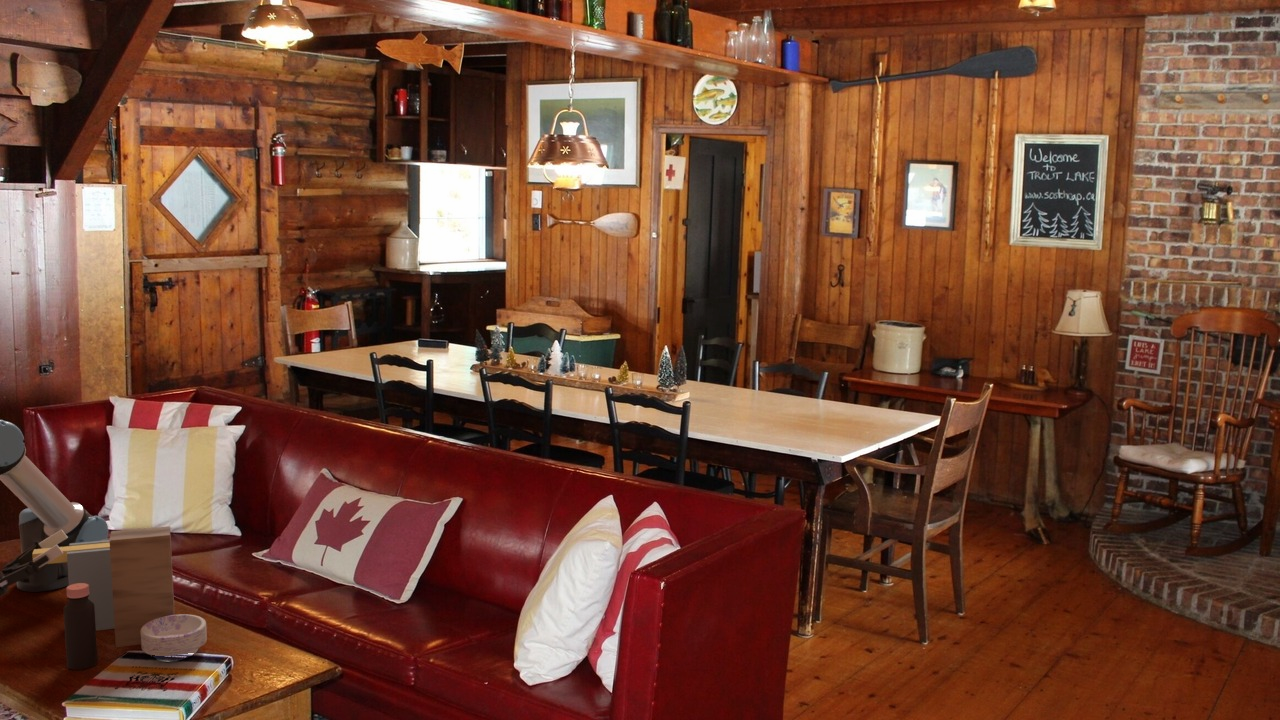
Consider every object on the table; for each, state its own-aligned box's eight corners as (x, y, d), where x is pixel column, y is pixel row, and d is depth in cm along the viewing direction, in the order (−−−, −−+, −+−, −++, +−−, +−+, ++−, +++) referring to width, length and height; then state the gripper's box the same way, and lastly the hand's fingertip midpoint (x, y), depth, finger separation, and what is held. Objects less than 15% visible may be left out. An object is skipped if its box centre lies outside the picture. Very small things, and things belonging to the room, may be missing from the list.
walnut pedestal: (117, 635, 305) (111, 531, 300) (175, 628, 310) (170, 526, 305) (115, 647, 297) (109, 540, 293) (175, 640, 302) (169, 535, 298)
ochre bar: (34, 560, 306) (34, 549, 306) (135, 551, 315) (134, 540, 314) (33, 565, 302) (32, 554, 302) (134, 555, 311) (133, 544, 311)
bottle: (102, 664, 287) (97, 586, 284) (73, 673, 282) (68, 593, 279) (91, 656, 291) (86, 579, 288) (62, 664, 286) (57, 586, 283)
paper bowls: (170, 672, 283) (168, 641, 282) (128, 659, 290) (126, 628, 289) (220, 651, 296) (219, 620, 295) (179, 638, 303) (178, 609, 302)
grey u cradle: (74, 621, 314) (69, 543, 311) (139, 613, 320) (135, 537, 317) (72, 633, 306) (66, 553, 302) (138, 625, 312) (134, 547, 308)
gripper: (1, 583, 314) (74, 538, 318) (-13, 616, 291) (67, 567, 296) (-17, 561, 311) (57, 516, 316) (-32, 593, 288) (48, 543, 293)
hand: (62, 541), depth 306 cm, fingers open, 13 cm apart
